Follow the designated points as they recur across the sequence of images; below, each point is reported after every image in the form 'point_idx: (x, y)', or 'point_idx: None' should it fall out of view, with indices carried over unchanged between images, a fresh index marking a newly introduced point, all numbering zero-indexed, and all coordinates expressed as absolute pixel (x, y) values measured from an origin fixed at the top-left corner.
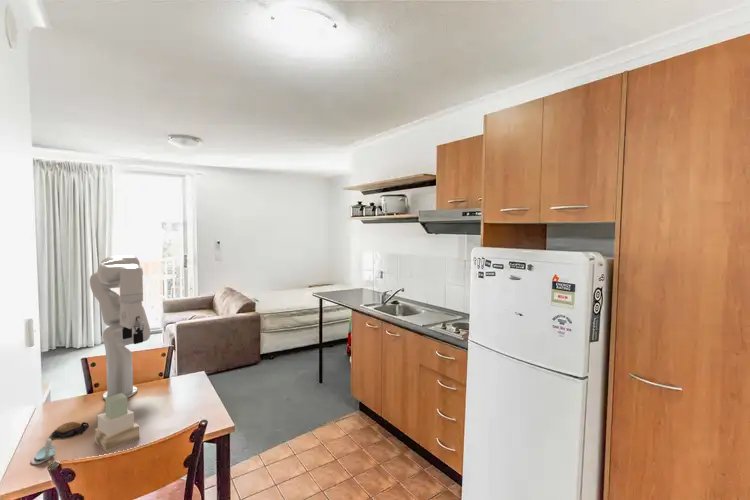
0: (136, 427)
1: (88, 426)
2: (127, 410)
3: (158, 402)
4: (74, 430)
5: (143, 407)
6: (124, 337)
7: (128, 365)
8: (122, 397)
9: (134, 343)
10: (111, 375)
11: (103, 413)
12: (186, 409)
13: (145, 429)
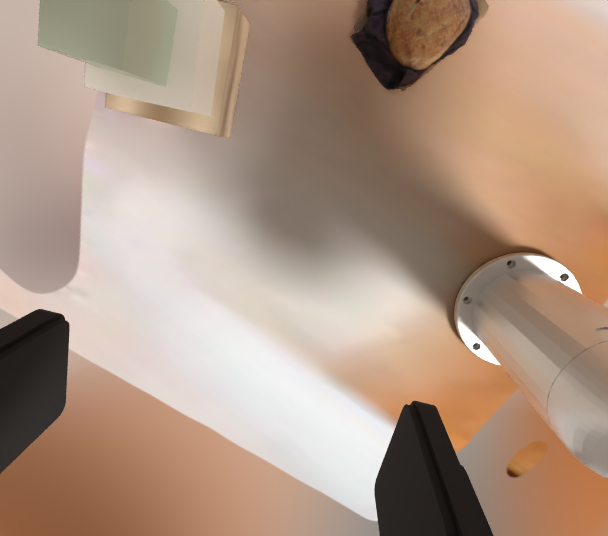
0: (106, 96)
1: (383, 84)
2: (128, 88)
3: (309, 315)
4: (381, 18)
5: (326, 269)
6: (408, 424)
7: (532, 389)
8: (51, 25)
9: (35, 312)
10: (567, 308)
11: (197, 11)
12: (172, 314)
13: (170, 162)
